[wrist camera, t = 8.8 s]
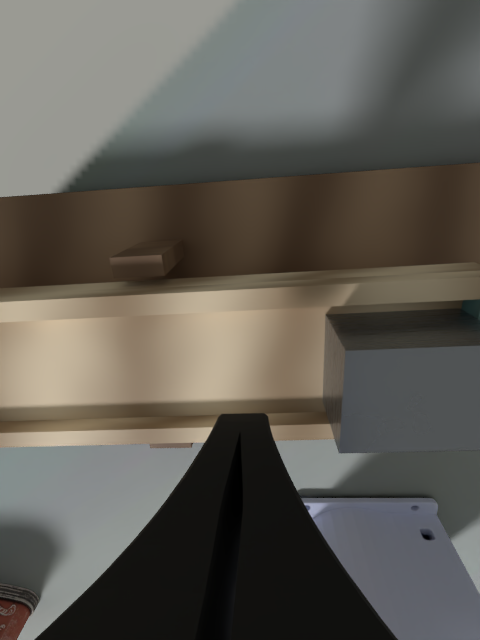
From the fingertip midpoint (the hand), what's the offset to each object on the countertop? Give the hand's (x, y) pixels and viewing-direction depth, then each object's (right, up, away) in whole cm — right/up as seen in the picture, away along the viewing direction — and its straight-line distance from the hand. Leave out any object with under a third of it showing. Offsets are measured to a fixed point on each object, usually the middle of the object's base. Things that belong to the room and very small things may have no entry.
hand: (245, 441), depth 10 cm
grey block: (+6, +2, +4) cm, 7 cm away
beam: (-4, +2, +5) cm, 6 cm away
